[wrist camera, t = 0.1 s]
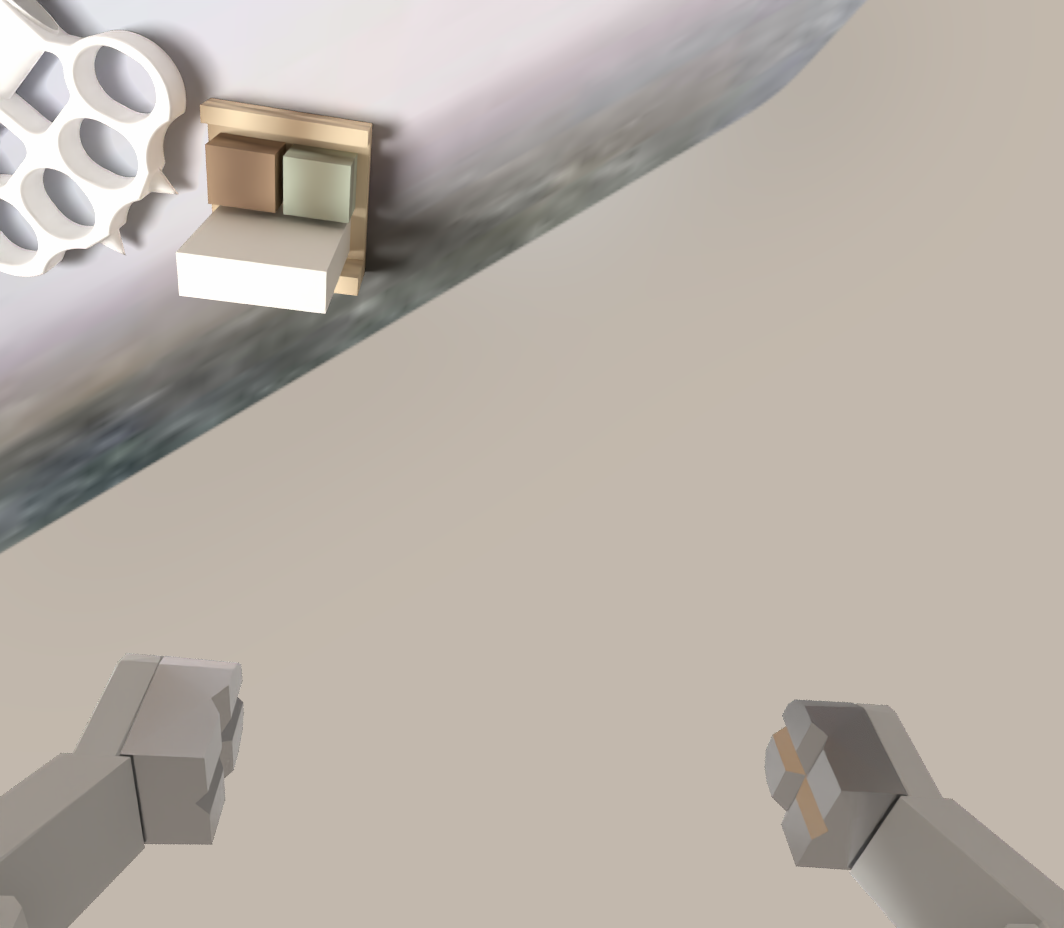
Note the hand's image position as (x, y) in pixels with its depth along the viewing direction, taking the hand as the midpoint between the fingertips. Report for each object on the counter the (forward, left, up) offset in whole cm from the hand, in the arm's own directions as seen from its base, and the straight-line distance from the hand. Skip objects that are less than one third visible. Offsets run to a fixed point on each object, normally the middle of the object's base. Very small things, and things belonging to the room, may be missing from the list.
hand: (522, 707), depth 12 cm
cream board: (+9, -12, -47) cm, 49 cm away
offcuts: (+5, -12, -47) cm, 49 cm away
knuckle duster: (+6, -27, -49) cm, 56 cm away
